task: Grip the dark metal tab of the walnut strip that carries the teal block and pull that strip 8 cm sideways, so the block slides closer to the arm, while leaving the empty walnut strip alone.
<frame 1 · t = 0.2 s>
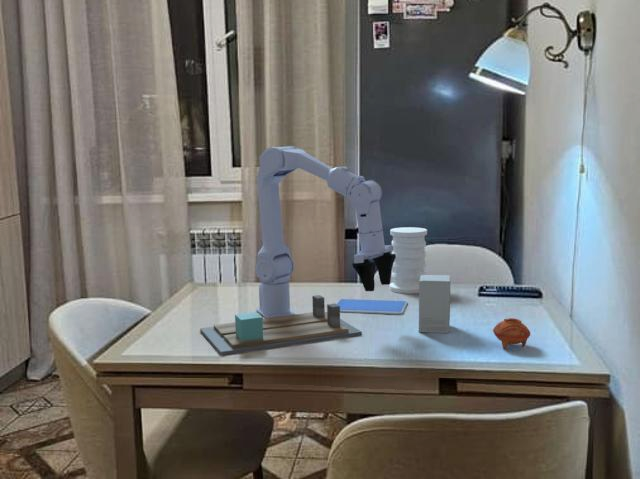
hand: (377, 287, 168), 10 cm above the table, tool pointing down, fingers open, 7 cm apart
strip 2: (286, 323, 162), point 4 cm above the table, slide at 0.0 cm, touching teal block
lane board: (279, 333, 168), on the table
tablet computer: (369, 310, 190), on the table
teal block: (249, 337, 159), point 2 cm above the table, touching strip 2
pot: (511, 347, 154), on the table
strip 1: (273, 313, 171), point 4 cm above the table, slide at 0.0 cm
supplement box: (434, 329, 169), on the table
decorative container: (408, 289, 210), on the table
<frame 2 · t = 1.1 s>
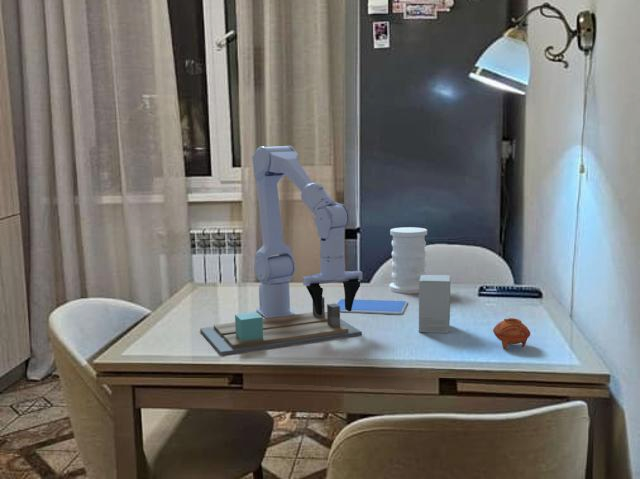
hand: (333, 312, 167), 5 cm above the table, tool pointing down, fingers open, 7 cm apart
nothing on the table moved.
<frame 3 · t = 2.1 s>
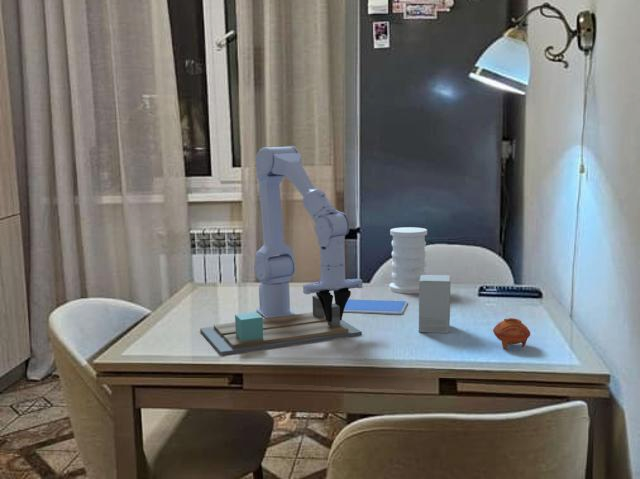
hand: (333, 320, 167), 3 cm above the table, tool pointing down, fingers closed on strip 2, 2 cm apart
strip 2: (286, 323, 162), point 4 cm above the table, slide at 0.0 cm, touching gripper, teal block
everything else where it was.
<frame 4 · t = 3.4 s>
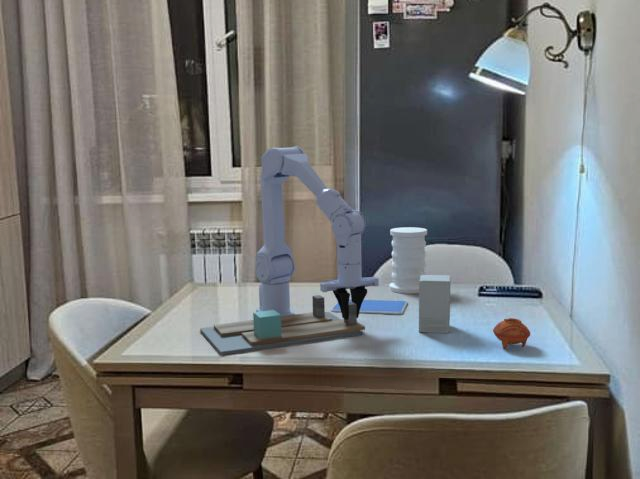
hand: (350, 317, 169), 3 cm above the table, tool pointing down, fingers closed on strip 2, 2 cm apart
strip 2: (303, 321, 164), point 4 cm above the table, slide at 4.3 cm, touching gripper, teal block
teal block: (267, 334, 161), point 2 cm above the table, touching strip 2
everything else where it was.
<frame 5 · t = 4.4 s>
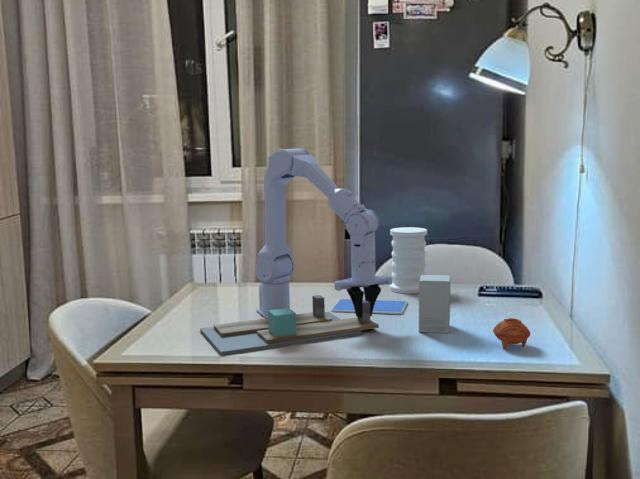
hand: (363, 316, 170), 3 cm above the table, tool pointing down, fingers closed on strip 2, 2 cm apart
strip 2: (318, 319, 165), point 4 cm above the table, slide at 8.0 cm, touching gripper, teal block
teal block: (282, 332, 162), point 2 cm above the table, touching strip 2
everything else where it was.
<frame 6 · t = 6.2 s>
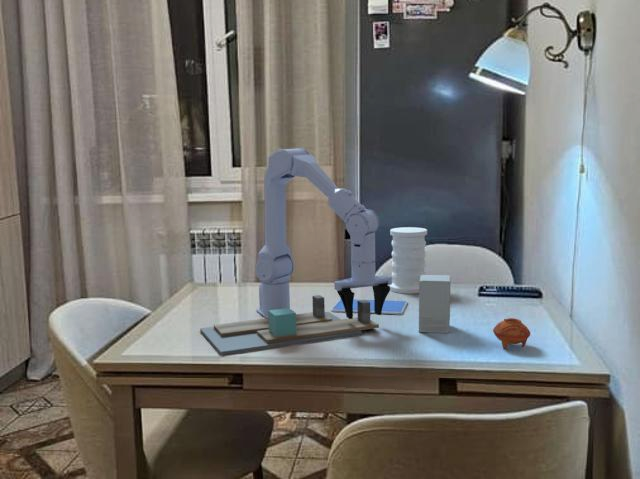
hand: (363, 316, 170), 3 cm above the table, tool pointing down, fingers open, 7 cm apart
strip 2: (318, 319, 165), point 4 cm above the table, slide at 8.0 cm, touching teal block
everything else where it was.
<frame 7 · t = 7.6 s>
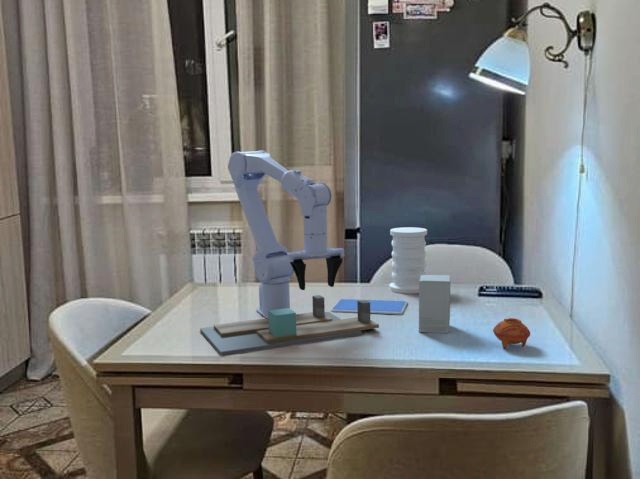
hand: (316, 287, 173), 9 cm above the table, tool pointing down, fingers open, 7 cm apart
nothing on the table moved.
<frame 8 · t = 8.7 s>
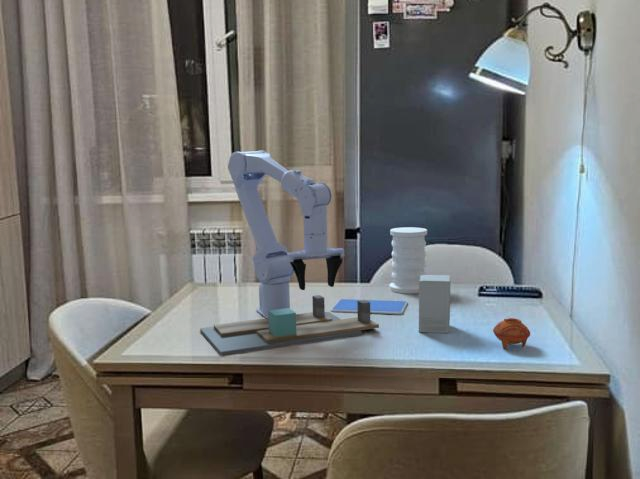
hand: (316, 287, 173), 9 cm above the table, tool pointing down, fingers open, 7 cm apart
nothing on the table moved.
at the end: strip 2 slide at 8.0 cm; teal block inside the target area (0.0 cm from its centre), point 1.6 cm above the table; strip 1 slide at 0.0 cm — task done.
